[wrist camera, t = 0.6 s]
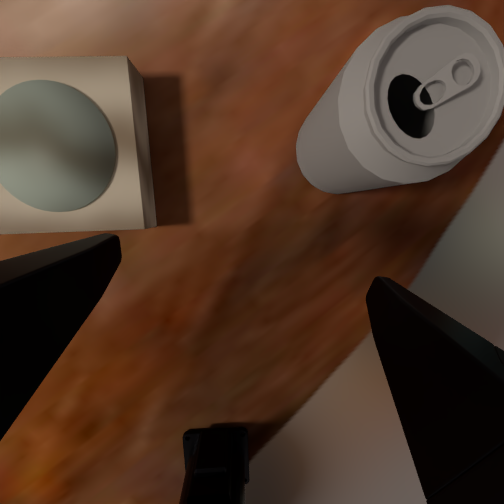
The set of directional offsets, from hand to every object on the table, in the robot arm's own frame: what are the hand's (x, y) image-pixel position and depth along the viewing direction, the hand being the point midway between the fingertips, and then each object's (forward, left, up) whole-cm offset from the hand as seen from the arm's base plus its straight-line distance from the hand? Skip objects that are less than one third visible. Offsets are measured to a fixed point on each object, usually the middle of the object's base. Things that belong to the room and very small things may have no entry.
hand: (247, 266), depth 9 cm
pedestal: (+7, +14, -14) cm, 21 cm away
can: (+7, -8, -15) cm, 18 cm away
